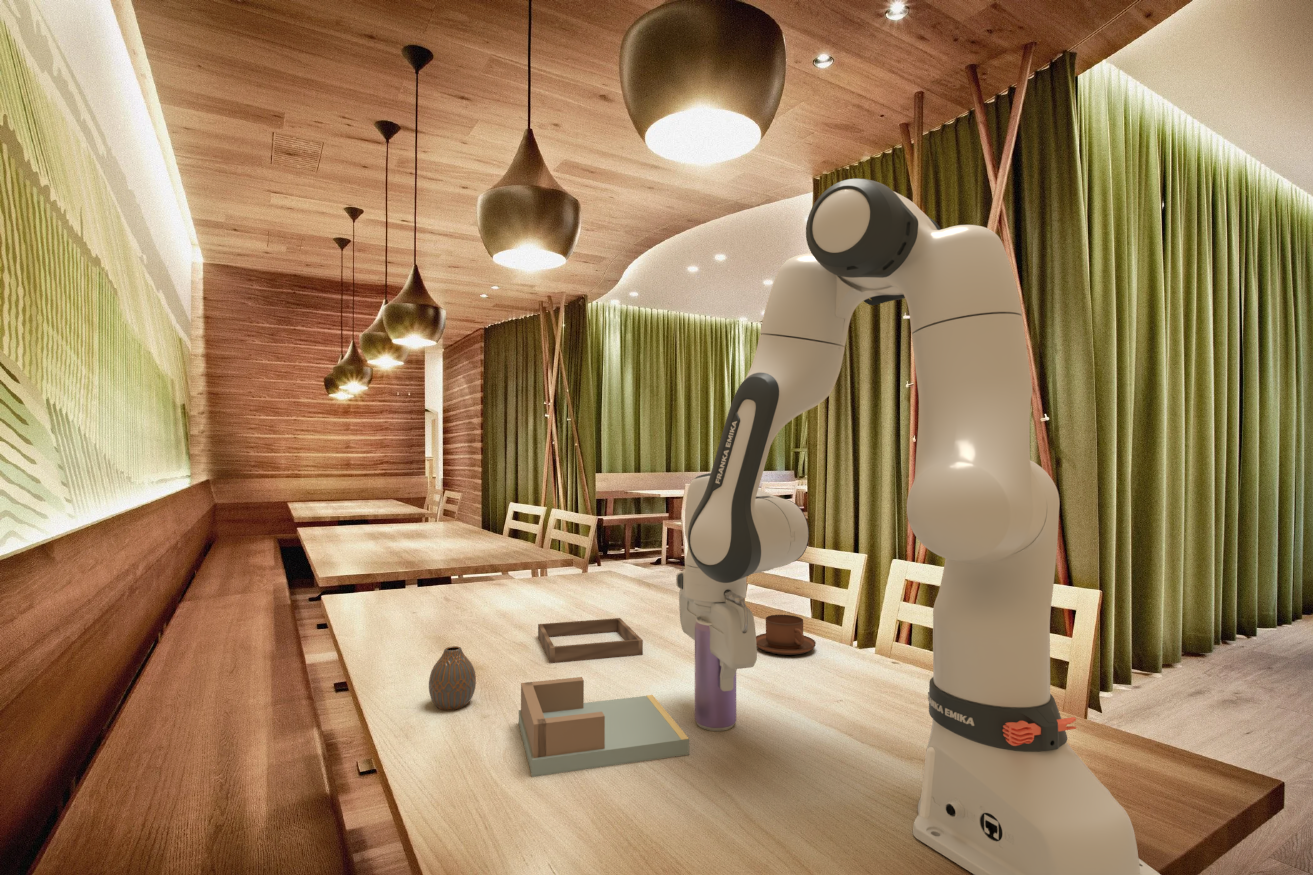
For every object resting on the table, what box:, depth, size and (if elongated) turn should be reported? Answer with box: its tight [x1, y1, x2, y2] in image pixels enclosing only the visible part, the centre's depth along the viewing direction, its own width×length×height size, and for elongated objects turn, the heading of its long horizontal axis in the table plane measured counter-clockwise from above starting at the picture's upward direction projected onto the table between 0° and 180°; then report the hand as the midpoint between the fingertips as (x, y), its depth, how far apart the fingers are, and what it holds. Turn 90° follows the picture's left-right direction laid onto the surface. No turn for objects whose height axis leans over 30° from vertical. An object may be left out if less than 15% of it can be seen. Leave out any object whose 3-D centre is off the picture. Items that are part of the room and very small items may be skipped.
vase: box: [428, 645, 477, 711], centre depth 101 cm, size 7×7×9 cm
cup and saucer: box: [756, 614, 816, 656], centre depth 130 cm, size 12×12×6 cm
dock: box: [518, 676, 690, 778], centre depth 89 cm, size 16×20×6 cm
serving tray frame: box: [537, 617, 644, 664], centre depth 131 cm, size 18×18×3 cm
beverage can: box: [694, 616, 737, 732], centre depth 95 cm, size 6×6×15 cm
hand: (715, 680), depth 94 cm, fingers closed on beverage can, 5 cm apart
